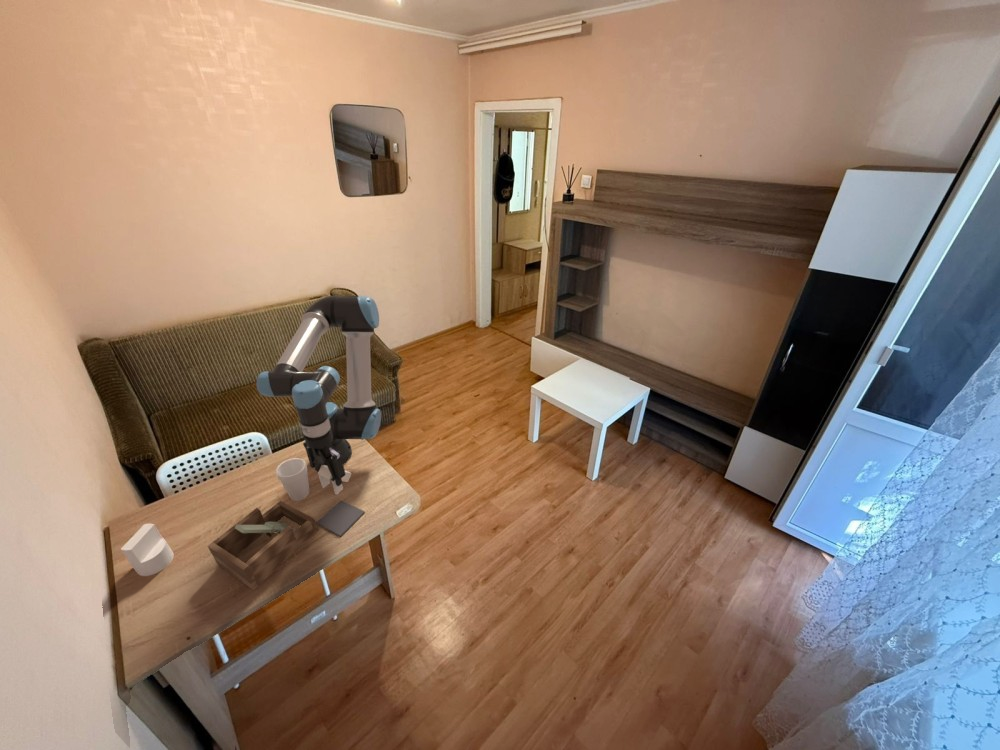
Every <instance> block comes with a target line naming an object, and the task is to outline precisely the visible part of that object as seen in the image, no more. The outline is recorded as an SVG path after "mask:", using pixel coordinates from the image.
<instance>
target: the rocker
mask: <svg viewBox="0 0 1000 750" xmlns="http://www.w3.org/2000/svg"><path fill="white" fill-rule="evenodd" d="M287 526H289V525H287V524H286V523H284V522H282V521H278V522H265V524H264V525H236V526H235V529H237V530H238V531H240V532H242V533H264V534H266V533H270V534H271V533H276V534H277V535H278V534H279V533H281V532H282V531H283V530H284V529H285V528H286V527H287ZM292 530H293V532H295V531H296V530H297V529H294V528H293V527H292Z"/></svg>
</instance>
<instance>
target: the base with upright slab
mask: <svg viewBox="0 0 1000 750" xmlns="http://www.w3.org/2000/svg"><path fill="white" fill-rule="evenodd" d="M120 550H121V552H122V553H123V555H124V556H125V558H127V561H128V563H129V565H130V566H131V567H132V568H133V569H134V571H135V572H136V573H137V574H138V575H139V576H140V577H150V576H153V575H155V574H157V573H158V574H159V573H160V572H161V571H163V570H164V569H165V568H167V567H168V566H169V565H170V564H171V562H172V561H173V559H174V555H175V554H174V552H173V550H172V548H171V546H170V545H169V543H168V542H167V541H166V539H165V538H164V537H163V536H162V535H161V532H159V530H158V528H157V526H156V525H155V524H154V523H144V524H143V525H142V526H141V527H140V528H139V529H138V530H137V531H136V532H135V533H134V534H133V535H132V537H130V539H129V540H128V541H127V542H126V543H125V544H124V545H123V546H122V547H121V548H120Z"/></svg>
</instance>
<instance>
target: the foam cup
mask: <svg viewBox="0 0 1000 750" xmlns="http://www.w3.org/2000/svg"><path fill="white" fill-rule="evenodd" d="M275 473H276V476H277V478H278V481H280V483H281V484H282V486H283V488H284V489H285V491H286V493H287V494H288V496H289V497H290V499H291V500H292V501H294V502H296V501H302V500H304V499H306V498H307V497H308V495H310V485H309V484H310V483H309V475H308V465H307V463H306V461H305V459H303V458H299V457H292V458H289V459H286V460H284V461H282V462H281V463H279V464H278V466H277V467H276V469H275Z"/></svg>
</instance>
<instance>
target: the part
mask: <svg viewBox="0 0 1000 750" xmlns="http://www.w3.org/2000/svg"><path fill="white" fill-rule="evenodd" d="M344 470H345V476H344V477H342V478H341V480H342V482H346V483H348V482H349V481H350V478H351V476H352V472H350V471H349V470H346V469H344ZM317 475H320V476H323V477H325V478H327V479H329V480H330V481H332V480H331V478H332V475H331V473H330V471H329V469H328V466H326V465H321V467H320V470H319V472H318V473H317Z"/></svg>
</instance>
